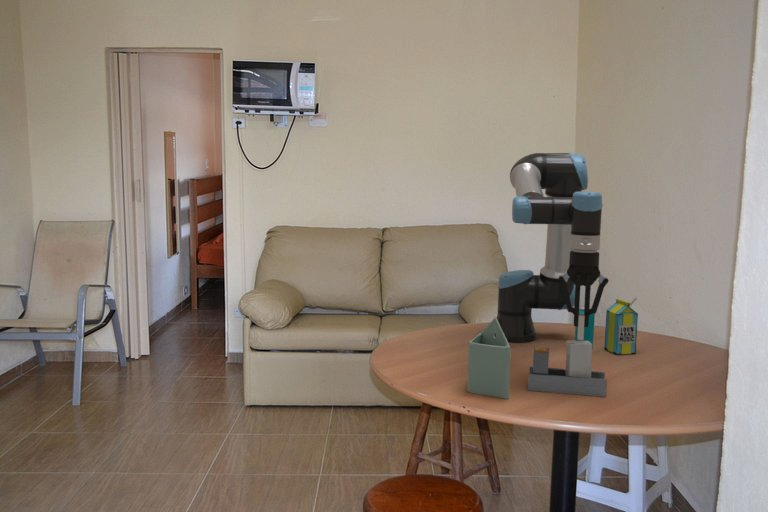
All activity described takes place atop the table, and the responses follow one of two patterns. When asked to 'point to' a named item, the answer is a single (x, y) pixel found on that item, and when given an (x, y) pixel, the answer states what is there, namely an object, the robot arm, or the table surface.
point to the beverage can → (587, 328)
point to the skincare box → (578, 359)
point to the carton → (621, 328)
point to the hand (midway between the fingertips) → (580, 338)
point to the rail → (562, 378)
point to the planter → (489, 362)
